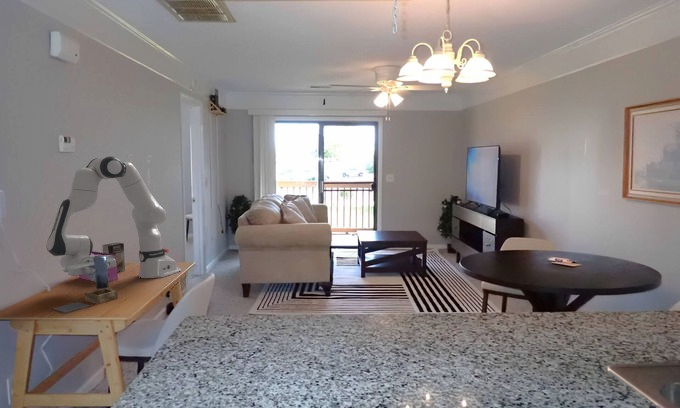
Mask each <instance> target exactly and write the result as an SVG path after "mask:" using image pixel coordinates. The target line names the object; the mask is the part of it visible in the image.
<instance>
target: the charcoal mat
mask: <svg viewBox="0 0 680 408" xmlns="http://www.w3.org/2000/svg"><path fill="white" fill-rule="evenodd" d="M89 307H90V305H89V304H86V303H83V302H79V301H76V302H72V303H68V304H65V305H62V306H58V307H53V308H52V310H54V311H57V312H60V313H63V314H68V313H72V312H75V311H79V310H82V309H86V308H89Z"/></svg>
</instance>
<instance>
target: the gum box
mask: <svg viewBox="0 0 680 408" xmlns="http://www.w3.org/2000/svg"><path fill="white" fill-rule="evenodd" d="M97 255H104V256H106V257H110V258H114V259H115V260H116V266H115V267H112V268H110V269H107V271H108V283H110V281H111V282H114V281H117V279H118V280H119V276H118V273H119V272H118V273H117V257H116V255H115V254H108V253H103V252H99V251H93V250H92V253H91V255H90V256H97ZM78 278H79V279H82V280H87V281H92V282H96V280H95V272H93V273H91V274H89V275H78ZM113 280H114V281H113Z"/></svg>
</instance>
